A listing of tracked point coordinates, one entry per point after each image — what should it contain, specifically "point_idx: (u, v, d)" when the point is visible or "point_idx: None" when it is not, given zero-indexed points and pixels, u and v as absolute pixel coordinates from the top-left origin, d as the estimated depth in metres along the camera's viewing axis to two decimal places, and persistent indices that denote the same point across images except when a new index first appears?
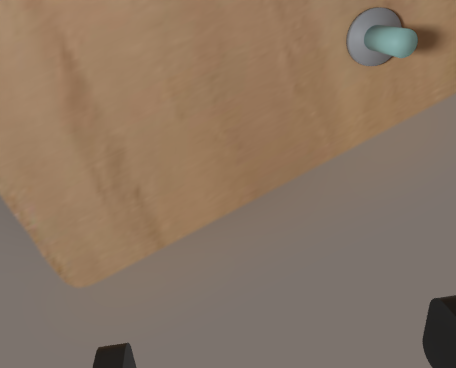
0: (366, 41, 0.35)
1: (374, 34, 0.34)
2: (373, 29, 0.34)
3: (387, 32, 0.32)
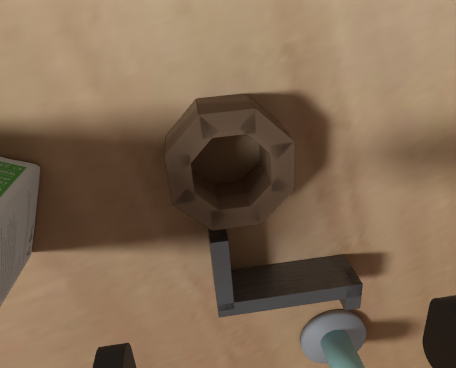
0: (322, 349, 0.29)
1: (330, 356, 0.28)
2: (330, 343, 0.28)
3: None
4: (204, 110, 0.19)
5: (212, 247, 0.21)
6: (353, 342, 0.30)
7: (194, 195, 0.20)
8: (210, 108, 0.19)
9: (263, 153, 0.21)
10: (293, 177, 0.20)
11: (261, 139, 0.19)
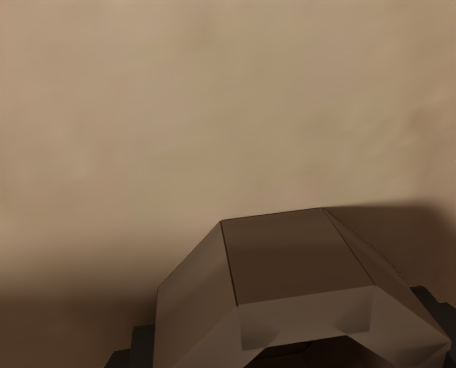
0: None
1: None
2: None
3: None
4: (248, 278, 0.08)
5: None
6: None
7: None
8: (261, 274, 0.08)
9: None
10: None
11: (379, 342, 0.08)
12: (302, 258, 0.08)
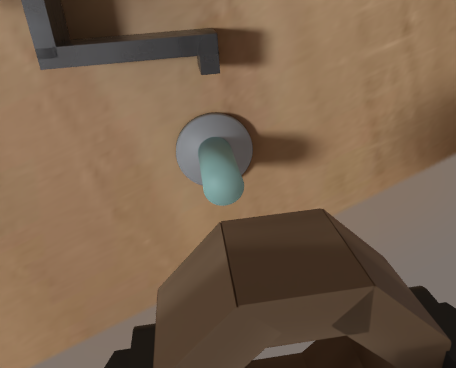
0: None
1: (201, 157, 0.23)
2: (204, 146, 0.24)
3: (206, 164, 0.22)
4: (249, 279, 0.08)
5: None
6: (238, 157, 0.26)
7: None
8: (261, 274, 0.08)
9: None
10: None
11: (379, 343, 0.08)
12: (302, 259, 0.08)
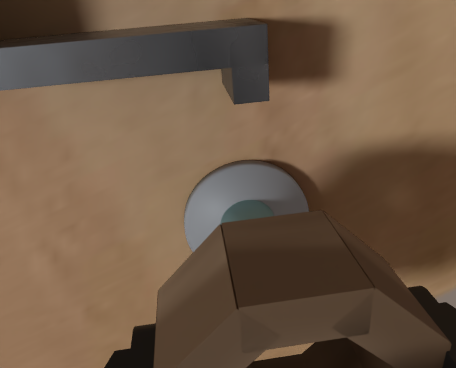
0: None
1: None
2: (232, 219, 0.14)
3: None
4: (248, 281, 0.08)
5: None
6: None
7: None
8: (261, 277, 0.08)
9: None
10: None
11: (379, 345, 0.08)
12: (302, 261, 0.08)
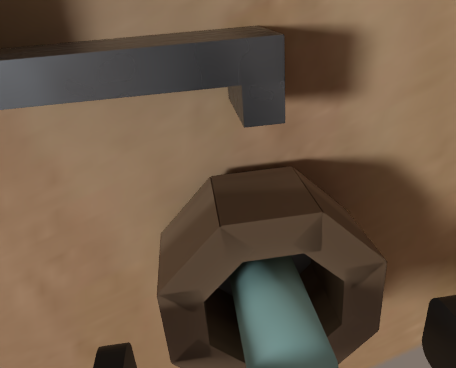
0: None
1: (235, 276, 0.12)
2: None
3: (250, 310, 0.10)
4: (229, 210, 0.10)
5: None
6: (297, 260, 0.14)
7: (209, 348, 0.11)
8: (239, 208, 0.10)
9: None
10: (378, 313, 0.12)
11: (330, 260, 0.11)
12: (271, 198, 0.11)
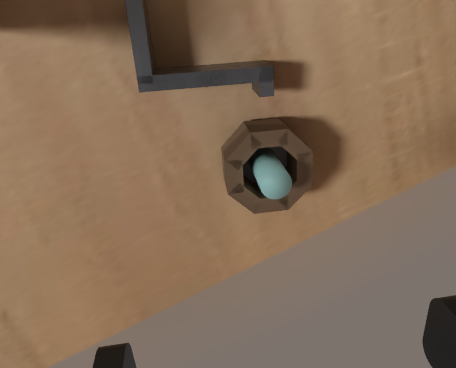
0: (249, 164, 0.31)
1: (253, 162, 0.29)
2: (255, 153, 0.30)
3: (260, 167, 0.27)
4: (253, 129, 0.27)
5: (127, 5, 0.23)
6: (281, 163, 0.31)
7: (243, 188, 0.28)
8: (256, 128, 0.28)
9: (290, 160, 0.30)
10: (312, 176, 0.29)
11: (291, 149, 0.28)
12: (269, 126, 0.28)
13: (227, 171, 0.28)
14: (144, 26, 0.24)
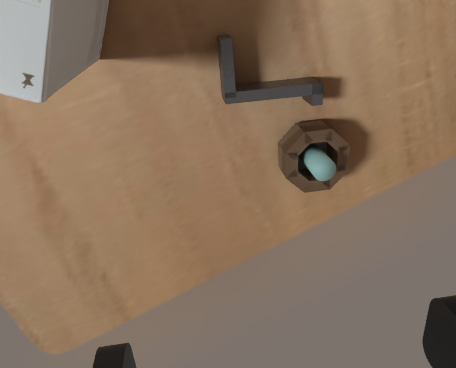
0: (299, 155, 0.40)
1: (304, 153, 0.39)
2: None
3: (311, 157, 0.37)
4: (306, 129, 0.37)
5: (221, 43, 0.33)
6: None
7: (297, 173, 0.38)
8: (308, 129, 0.37)
9: (330, 151, 0.40)
10: (348, 163, 0.38)
11: (333, 144, 0.37)
12: (317, 126, 0.37)
13: (286, 161, 0.37)
14: (232, 57, 0.33)
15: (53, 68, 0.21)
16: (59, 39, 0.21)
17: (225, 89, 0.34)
